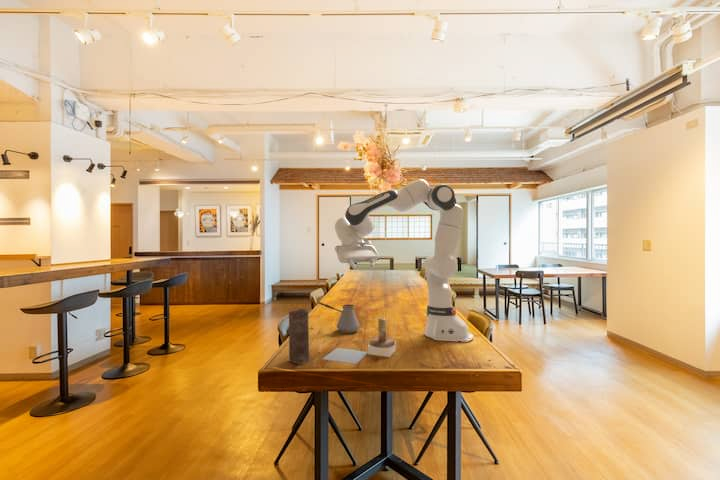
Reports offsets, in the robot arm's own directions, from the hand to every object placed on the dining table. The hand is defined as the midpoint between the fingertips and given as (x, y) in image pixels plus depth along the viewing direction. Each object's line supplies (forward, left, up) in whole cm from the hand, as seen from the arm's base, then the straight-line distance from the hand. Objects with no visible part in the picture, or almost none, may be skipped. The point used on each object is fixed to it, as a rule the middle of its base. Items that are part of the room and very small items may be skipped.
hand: (364, 268), depth 153 cm
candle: (+15, +32, -34) cm, 48 cm away
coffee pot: (+19, -12, -34) cm, 40 cm away
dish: (-11, +11, -33) cm, 37 cm away
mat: (+1, +20, -33) cm, 39 cm away
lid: (-12, +11, -29) cm, 33 cm away
